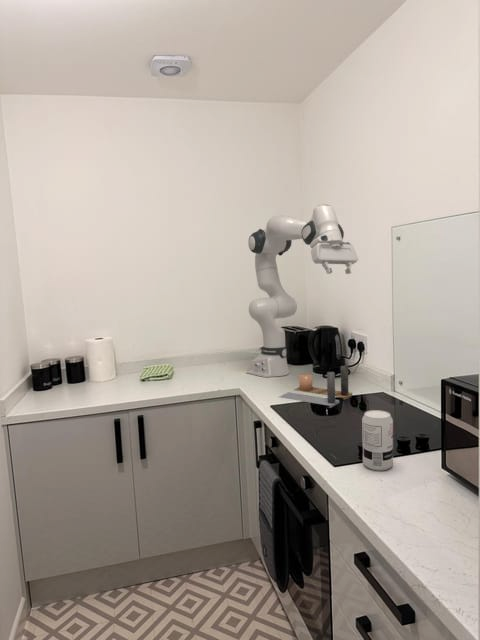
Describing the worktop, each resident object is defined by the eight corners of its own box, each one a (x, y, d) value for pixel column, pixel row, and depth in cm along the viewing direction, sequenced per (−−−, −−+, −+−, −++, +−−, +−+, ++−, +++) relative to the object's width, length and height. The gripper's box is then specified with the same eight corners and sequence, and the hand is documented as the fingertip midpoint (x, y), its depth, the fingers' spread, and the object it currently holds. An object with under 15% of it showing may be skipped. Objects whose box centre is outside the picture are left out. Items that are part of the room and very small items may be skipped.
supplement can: (358, 460, 142) (358, 410, 140) (386, 458, 143) (386, 408, 141) (368, 472, 134) (367, 419, 132) (397, 470, 135) (397, 417, 133)
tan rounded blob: (297, 389, 214) (296, 376, 213) (303, 386, 218) (303, 373, 218) (308, 391, 211) (308, 377, 210) (314, 388, 215) (314, 374, 214)
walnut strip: (293, 392, 214) (292, 363, 212) (302, 387, 220) (301, 359, 219) (343, 400, 199) (343, 368, 198) (352, 395, 206) (351, 364, 204)
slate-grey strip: (278, 399, 205) (277, 368, 203) (288, 394, 211) (287, 365, 209) (330, 408, 190) (329, 375, 188) (339, 402, 196) (338, 371, 195)
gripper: (347, 246, 203) (355, 276, 200) (306, 244, 194) (313, 276, 190) (356, 239, 198) (364, 270, 194) (315, 236, 189) (323, 269, 185)
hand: (339, 273), depth 192 cm, fingers open, 8 cm apart
